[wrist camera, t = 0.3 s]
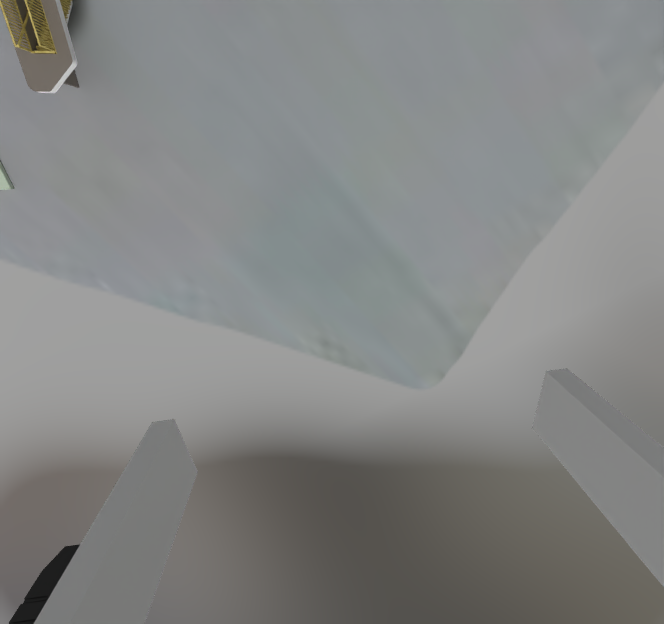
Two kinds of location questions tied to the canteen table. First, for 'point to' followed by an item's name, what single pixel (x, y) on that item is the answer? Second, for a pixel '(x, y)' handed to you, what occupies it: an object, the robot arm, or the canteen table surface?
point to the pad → (4, 179)
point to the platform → (42, 42)
